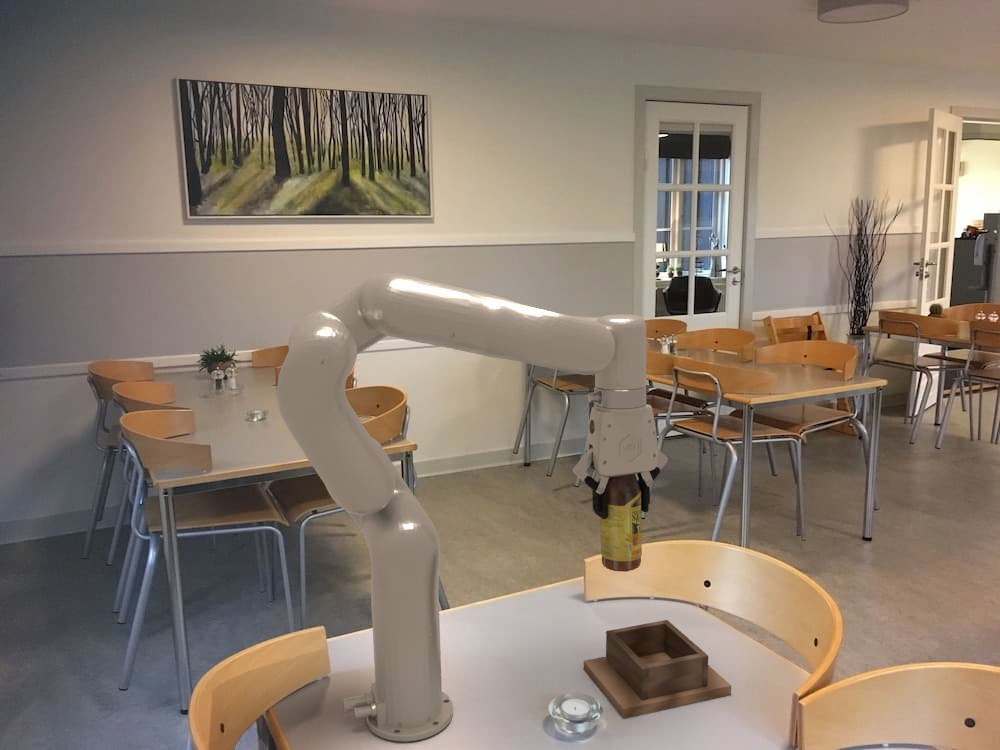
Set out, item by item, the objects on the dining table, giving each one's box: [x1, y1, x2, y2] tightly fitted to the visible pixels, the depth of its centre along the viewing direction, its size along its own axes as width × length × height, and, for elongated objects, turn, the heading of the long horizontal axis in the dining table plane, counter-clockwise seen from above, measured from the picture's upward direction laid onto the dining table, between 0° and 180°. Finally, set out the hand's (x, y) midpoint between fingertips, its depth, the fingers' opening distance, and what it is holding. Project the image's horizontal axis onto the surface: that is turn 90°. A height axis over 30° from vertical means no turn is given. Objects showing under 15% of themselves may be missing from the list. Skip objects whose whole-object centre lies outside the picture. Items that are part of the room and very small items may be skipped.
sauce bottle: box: [599, 474, 643, 573], centre depth 119 cm, size 6×6×20 cm
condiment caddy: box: [583, 619, 732, 719], centre depth 121 cm, size 18×14×6 cm
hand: (621, 511), depth 119 cm, fingers closed on sauce bottle, 6 cm apart
